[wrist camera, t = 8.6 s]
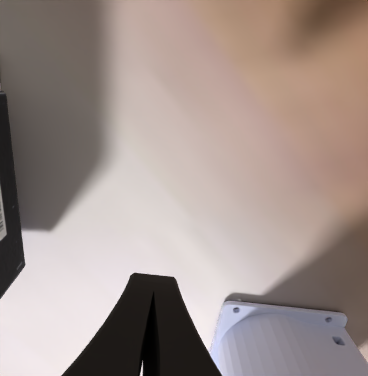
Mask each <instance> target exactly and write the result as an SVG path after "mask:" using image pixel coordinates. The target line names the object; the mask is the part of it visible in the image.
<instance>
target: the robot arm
mask: <svg viewBox="0 0 368 376" xmlns="http://www.w3.org/2000/svg"><path fill="white" fill-rule="evenodd" d="M236 307H238V308H237V309H234V308H236ZM328 317H329V318H328ZM326 318H327V319H326ZM347 320H348V319H347V317H346V315H345V314H344V313H341V312H331V311H322V310H313V309H303V308H294V307H285V306H276V305H266V304H257V303H248V302H239V301H226V302H224V303H223V305H222V308H221V312H220V315H219V319H218V323H217V327H216V331H215V334H214V338H213V342H212V346H211V350H210V353H209V352H208V351H207V349H206V347H205V345H204V343H203V341H202V340H201V338H200V336H199V334H198V332H197V330H196V328H195V326H194V324H193V321H192V319H191V317H190V315H189V313H188V311H187V308H186V306H185V303H184V301H183V299H182V296H181V293H180V290H179V287H178V284H177V281H176V279H175V278H174V277H169V276H159V275H150V274H141V273H134V274H132V275H130V278H129V281H128V283H127V286H126V288H125V290H124V292H123V293H122V295H121V297H120V299H119V300H118V302H117V304H116V305H115V307H114V308H113V310H112V311H111V313H110V315H109V316H108V318H107V319H106V321H105V322H104V324H103V325H102V326H101V328H100V329H99V330H98V332H97V333H96V334H95V336H94V337H93V338H92V340H91V341H90V342H89V344H88V345H87V346H86V348H85V349H84V350H83V351H82V352H81V354H80V355H79V356H78V357H77V359H76V360H75V361H74V362H73V363H72V364H71V366H70V367H69V368H68V369H67V370H66V371H65V372H64V373H63V375H62V376H140V372H141V367H142V361H143V376H368V363H367V361H366V360H365V358H364V357H363V355H362V354H361V352H360V351H359V349H358V348H357V346H356V345H355V343H354V342H353V340H352V339H351V337H350V336H349V334H348V333H347V331H346V330H345V325H346V323H347Z"/></svg>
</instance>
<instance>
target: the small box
mask: <svg viewBox="0 0 368 376" xmlns="http://www.w3.org/2000/svg"><path fill="white" fill-rule="evenodd" d="M24 266H25V259H24V251H23V242H22V235H21V225H20V216H19V206H18V199H17V189H16V180H15V171H14V162H13V152H12V144H11V134H10V125H9V116H8V107H7V97H6V93H5V92H4V91H0V299H1V298H2V296H3V295H4V293H5V292H6V291H7V290H8V288H9V287H10V286H11V284H12V283H13V281H14V280H15V279H16V278H17V276H18V275H19V273H20V272H21V271H22V269H23V268H24Z"/></svg>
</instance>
